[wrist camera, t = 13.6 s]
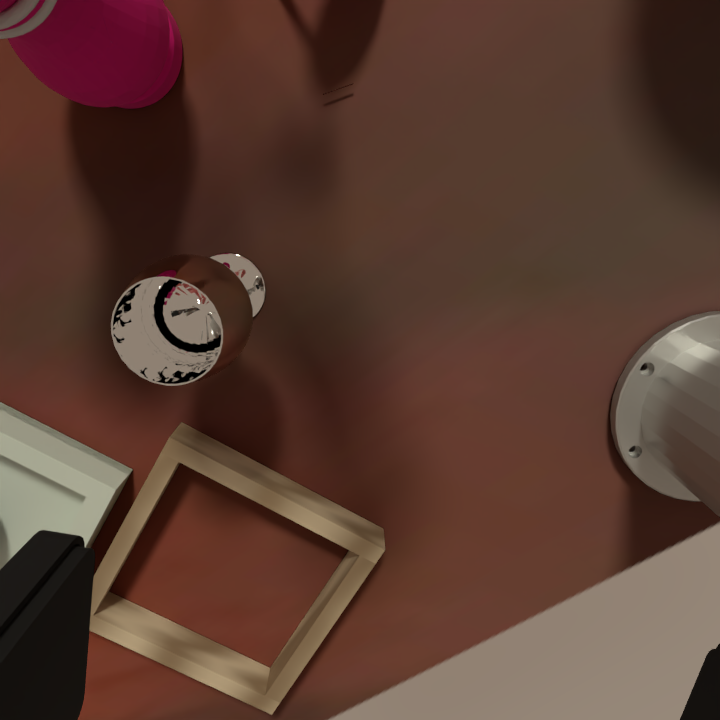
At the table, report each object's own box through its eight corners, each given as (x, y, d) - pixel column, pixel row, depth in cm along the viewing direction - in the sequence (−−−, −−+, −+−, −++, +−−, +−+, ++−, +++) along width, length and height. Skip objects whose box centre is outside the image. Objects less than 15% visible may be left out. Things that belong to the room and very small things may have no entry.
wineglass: (180, 330, 36) (97, 391, 25) (183, 236, 35) (96, 254, 23) (273, 340, 36) (233, 405, 25) (279, 247, 35) (240, 270, 23)
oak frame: (383, 528, 40) (385, 549, 38) (276, 686, 43) (271, 714, 41) (181, 422, 38) (169, 437, 35) (86, 596, 41) (69, 621, 39)
